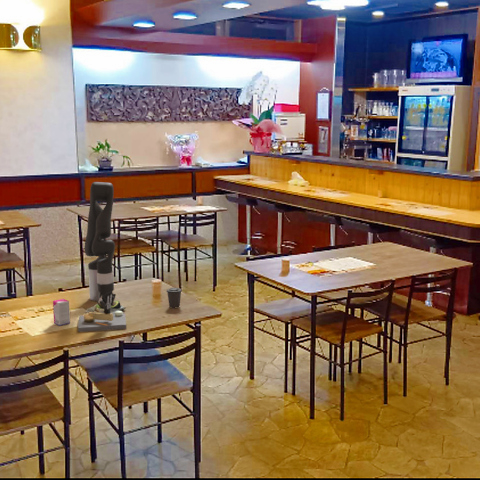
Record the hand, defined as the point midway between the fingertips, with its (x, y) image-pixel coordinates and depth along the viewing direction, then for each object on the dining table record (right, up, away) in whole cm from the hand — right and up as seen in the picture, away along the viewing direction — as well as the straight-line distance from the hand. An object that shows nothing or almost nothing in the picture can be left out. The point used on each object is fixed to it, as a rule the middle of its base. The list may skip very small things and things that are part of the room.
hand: (107, 315), depth 294 cm
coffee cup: (+29, +1, +28) cm, 41 cm away
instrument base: (-3, -4, +1) cm, 5 cm away
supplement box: (-22, -4, +2) cm, 23 cm away
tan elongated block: (-4, -2, -1) cm, 5 cm away
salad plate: (-5, -1, +22) cm, 23 cm away
